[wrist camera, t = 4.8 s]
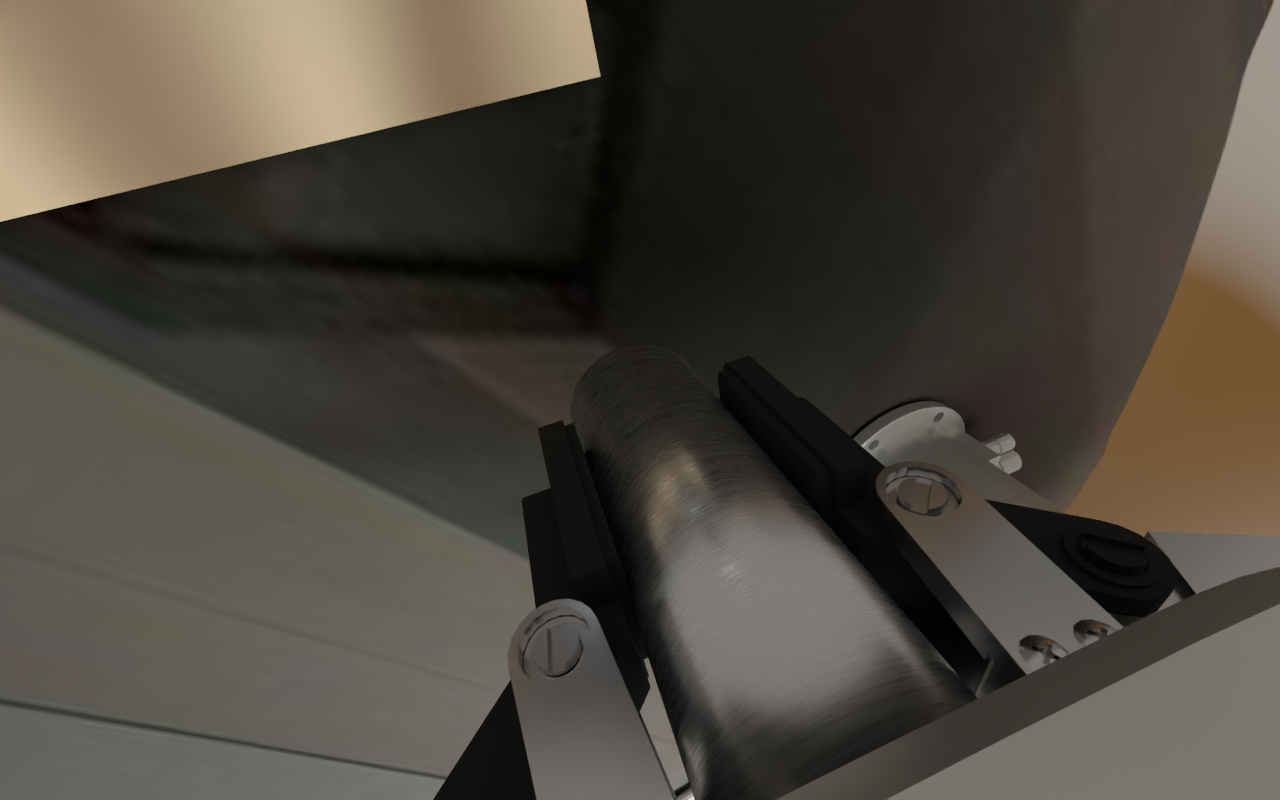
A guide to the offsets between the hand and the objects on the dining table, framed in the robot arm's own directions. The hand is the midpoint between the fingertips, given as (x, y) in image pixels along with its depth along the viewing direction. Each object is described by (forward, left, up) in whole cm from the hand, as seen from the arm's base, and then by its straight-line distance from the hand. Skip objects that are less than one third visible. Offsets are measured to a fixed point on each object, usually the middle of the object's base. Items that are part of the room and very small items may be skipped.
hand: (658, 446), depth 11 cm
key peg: (0, 0, -2) cm, 2 cm away
